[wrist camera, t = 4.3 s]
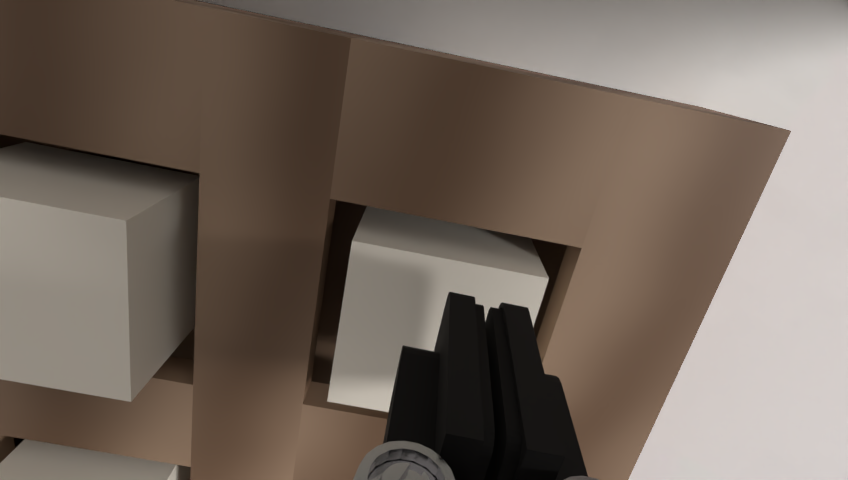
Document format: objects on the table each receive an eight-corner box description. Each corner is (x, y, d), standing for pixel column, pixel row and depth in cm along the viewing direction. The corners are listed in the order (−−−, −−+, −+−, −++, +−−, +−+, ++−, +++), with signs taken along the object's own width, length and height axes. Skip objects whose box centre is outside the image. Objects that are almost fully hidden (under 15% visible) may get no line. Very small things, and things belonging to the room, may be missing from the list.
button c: (202, 176, 13) (126, 220, 10) (197, 323, 15) (131, 402, 12) (25, 141, 13) (-110, 175, 10) (41, 295, 15) (-71, 366, 12)
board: (700, 107, 14) (791, 130, 11) (506, 601, 23) (519, 712, 19) (-87, -60, 13) (-287, -97, 10) (5, 520, 22) (-84, 620, 18)
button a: (525, 226, 15) (548, 278, 12) (487, 354, 17) (499, 431, 13) (371, 195, 15) (351, 240, 11) (349, 329, 16) (327, 401, 13)
